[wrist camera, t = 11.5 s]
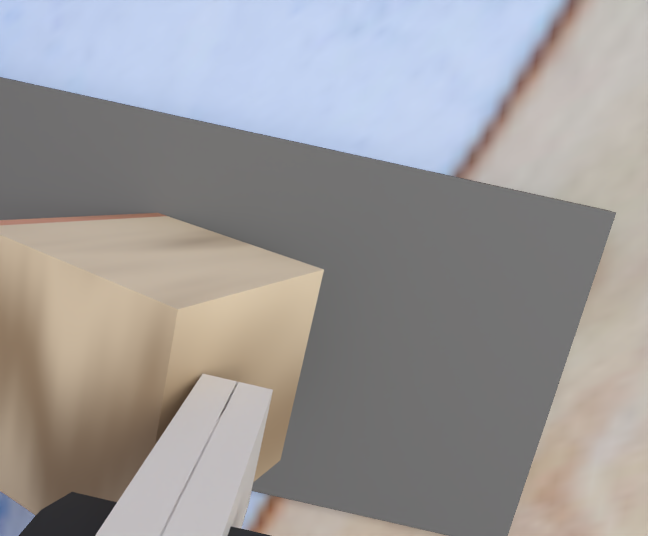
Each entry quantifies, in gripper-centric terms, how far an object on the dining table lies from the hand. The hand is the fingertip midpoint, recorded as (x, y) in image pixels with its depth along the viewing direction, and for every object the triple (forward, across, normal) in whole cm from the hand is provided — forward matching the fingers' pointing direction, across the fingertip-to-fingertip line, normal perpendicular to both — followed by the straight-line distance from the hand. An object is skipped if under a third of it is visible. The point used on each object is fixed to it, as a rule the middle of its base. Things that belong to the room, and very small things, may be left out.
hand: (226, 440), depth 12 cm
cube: (+2, 0, 0) cm, 2 cm away
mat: (+8, +1, 0) cm, 8 cm away
